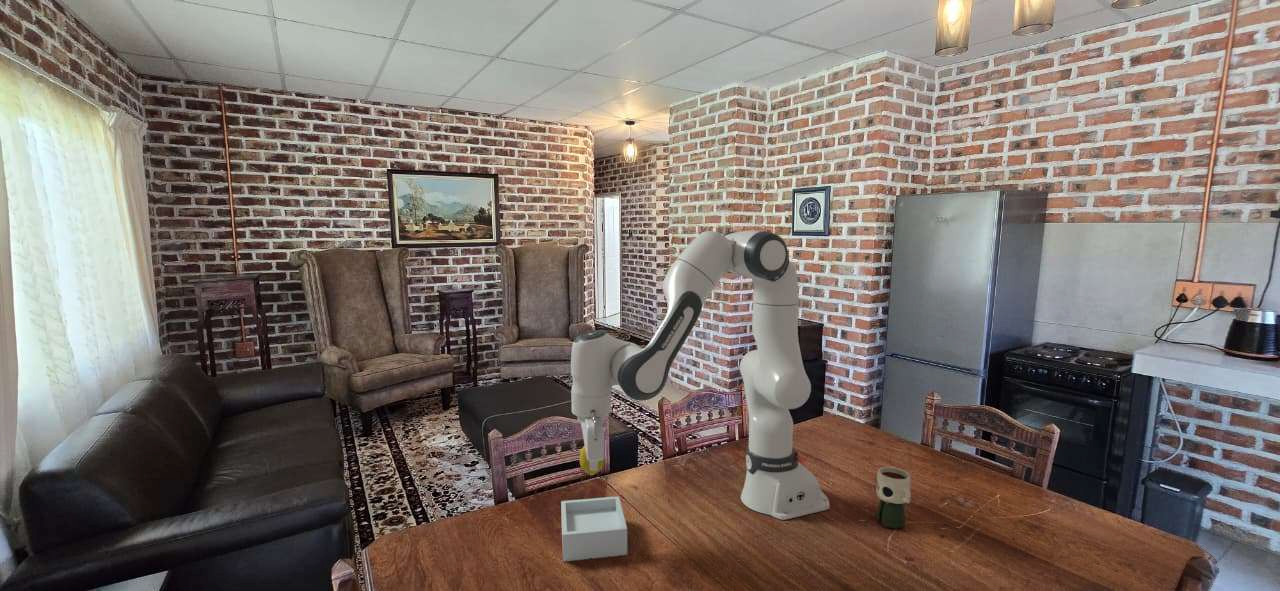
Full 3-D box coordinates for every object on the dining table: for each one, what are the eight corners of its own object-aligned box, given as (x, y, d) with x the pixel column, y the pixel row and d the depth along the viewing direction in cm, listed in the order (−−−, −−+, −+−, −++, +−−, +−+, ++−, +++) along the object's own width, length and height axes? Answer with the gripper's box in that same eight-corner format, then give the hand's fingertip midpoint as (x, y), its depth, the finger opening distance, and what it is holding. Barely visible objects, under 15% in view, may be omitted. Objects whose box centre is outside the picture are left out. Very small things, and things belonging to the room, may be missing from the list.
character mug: (863, 513, 132) (866, 464, 130) (887, 509, 133) (890, 461, 131) (893, 538, 121) (897, 485, 119) (919, 534, 123) (923, 481, 121)
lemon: (600, 482, 115) (600, 447, 114) (576, 480, 116) (575, 445, 115) (607, 470, 121) (606, 438, 120) (584, 468, 122) (583, 436, 121)
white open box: (618, 521, 129) (618, 496, 128) (627, 556, 115) (627, 528, 114) (561, 526, 126) (561, 501, 125) (563, 562, 113) (562, 534, 112)
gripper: (611, 419, 107) (611, 483, 109) (601, 388, 127) (601, 443, 128) (580, 421, 106) (581, 486, 107) (574, 390, 126) (575, 445, 127)
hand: (592, 462), depth 118 cm, fingers closed on lemon, 5 cm apart
